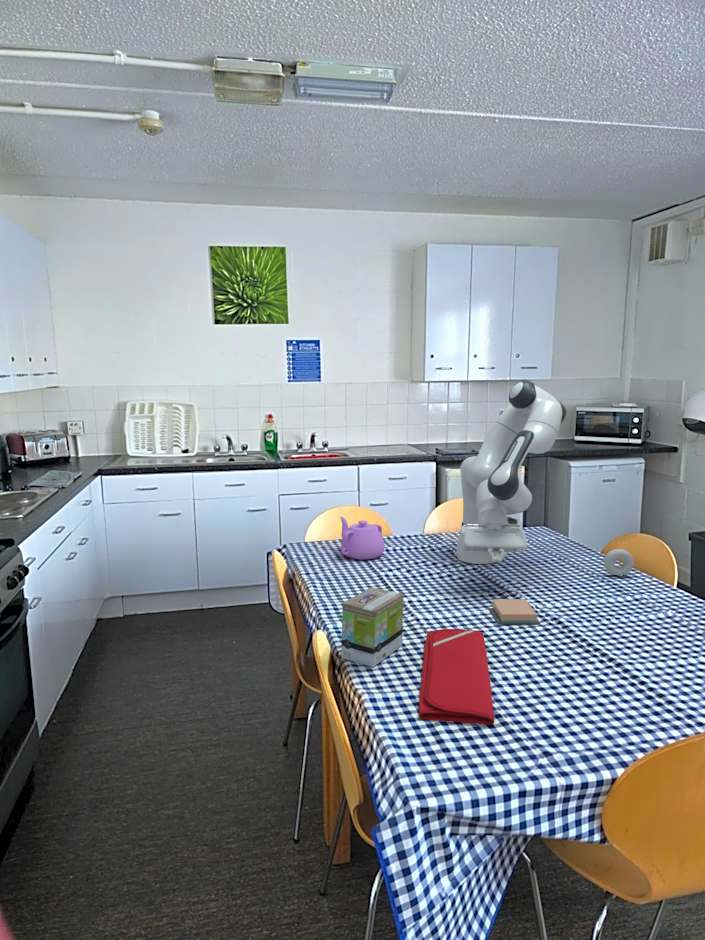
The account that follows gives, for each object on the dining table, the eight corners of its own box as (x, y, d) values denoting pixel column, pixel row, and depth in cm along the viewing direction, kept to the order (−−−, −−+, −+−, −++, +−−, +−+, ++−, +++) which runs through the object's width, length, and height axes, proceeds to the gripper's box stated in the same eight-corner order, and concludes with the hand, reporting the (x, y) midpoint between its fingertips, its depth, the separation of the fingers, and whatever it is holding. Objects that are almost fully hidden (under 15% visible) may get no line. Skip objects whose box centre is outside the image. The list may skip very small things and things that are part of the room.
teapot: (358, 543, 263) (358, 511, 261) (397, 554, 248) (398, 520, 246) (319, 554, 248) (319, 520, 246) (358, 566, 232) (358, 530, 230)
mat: (489, 609, 190) (489, 608, 190) (529, 609, 190) (529, 607, 190) (497, 624, 179) (497, 622, 179) (539, 624, 179) (539, 622, 179)
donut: (604, 577, 220) (606, 549, 218) (601, 574, 223) (603, 547, 221) (634, 578, 219) (636, 550, 217) (631, 575, 222) (632, 547, 220)
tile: (492, 599, 190) (501, 614, 179) (525, 599, 190) (536, 614, 179) (492, 606, 191) (501, 622, 179) (525, 606, 191) (536, 622, 179)
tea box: (375, 668, 153) (375, 610, 150) (340, 659, 158) (340, 602, 156) (403, 646, 165) (404, 592, 163) (370, 637, 171) (370, 585, 168)
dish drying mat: (417, 721, 131) (417, 704, 130) (425, 639, 171) (425, 626, 170) (494, 728, 128) (495, 711, 128) (484, 642, 168) (484, 629, 168)
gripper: (461, 518, 203) (464, 556, 195) (525, 520, 203) (531, 558, 195) (459, 528, 208) (462, 566, 200) (521, 530, 208) (526, 568, 200)
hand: (496, 562), depth 197 cm, fingers closed
